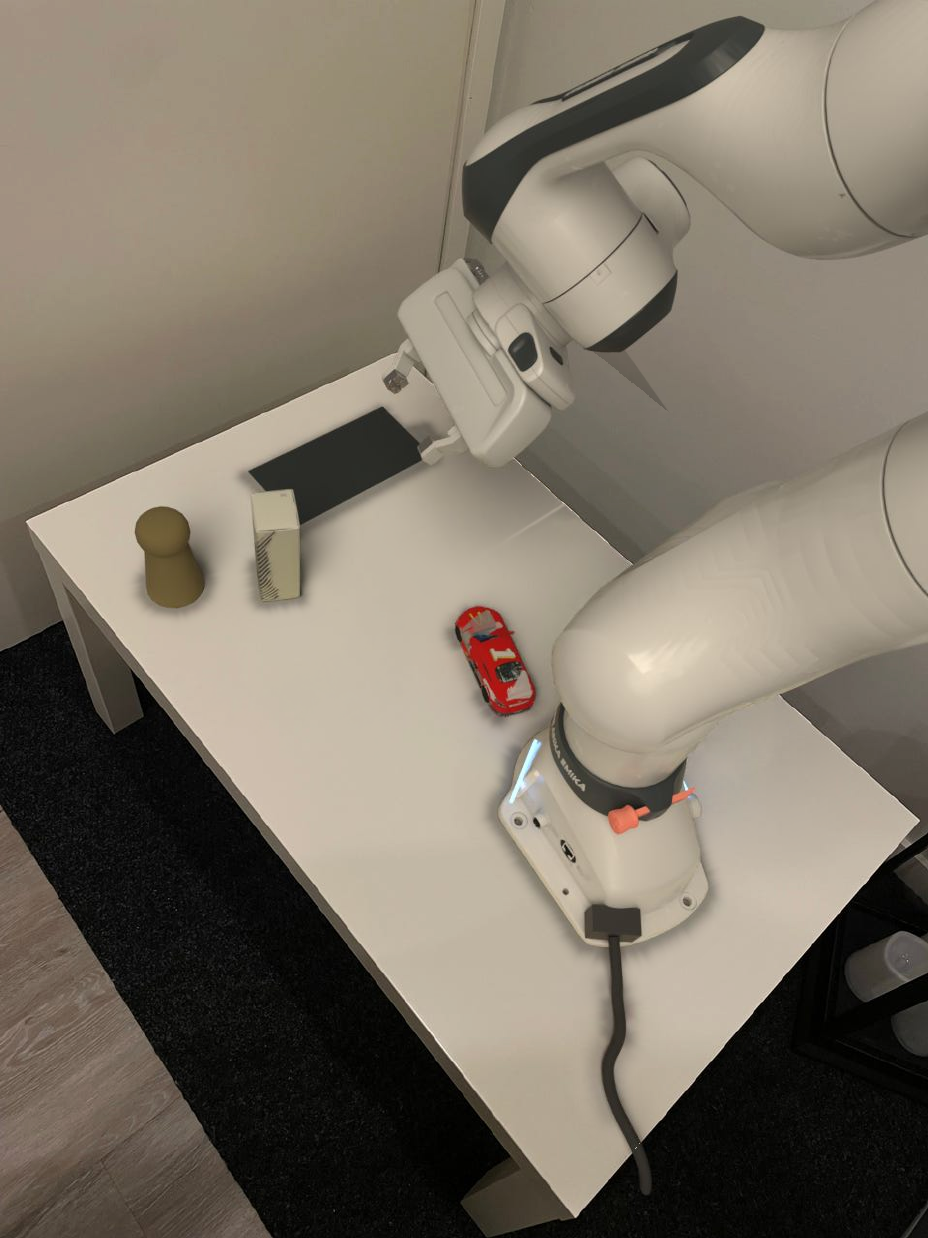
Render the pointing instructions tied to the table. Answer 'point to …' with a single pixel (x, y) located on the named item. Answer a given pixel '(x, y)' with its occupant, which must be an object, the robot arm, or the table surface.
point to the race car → (495, 661)
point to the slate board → (341, 463)
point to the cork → (168, 558)
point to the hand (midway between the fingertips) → (405, 420)
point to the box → (276, 544)
